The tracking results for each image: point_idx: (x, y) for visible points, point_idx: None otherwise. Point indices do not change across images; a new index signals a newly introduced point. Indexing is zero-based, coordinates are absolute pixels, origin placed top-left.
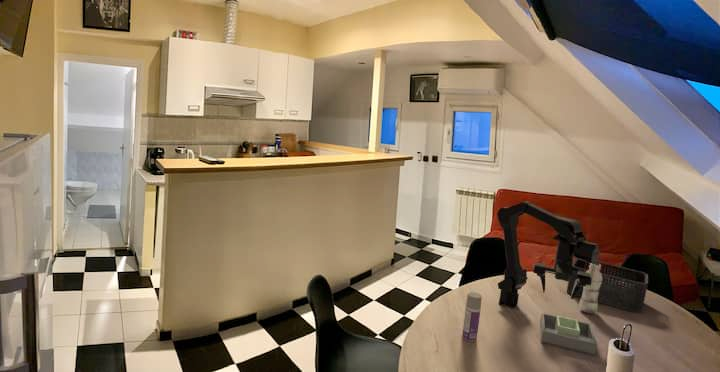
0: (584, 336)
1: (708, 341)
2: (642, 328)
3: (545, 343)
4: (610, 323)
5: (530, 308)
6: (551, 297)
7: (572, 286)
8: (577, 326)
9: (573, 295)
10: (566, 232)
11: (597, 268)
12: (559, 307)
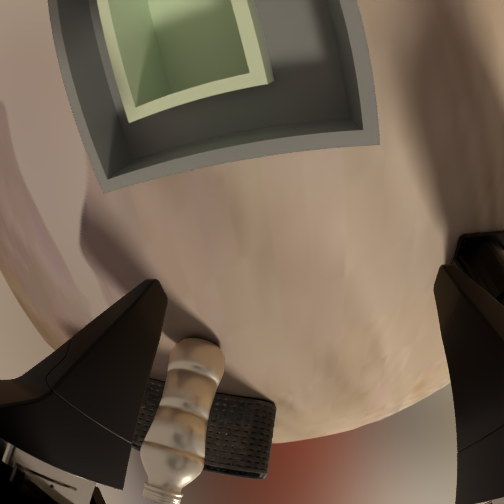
0: None
1: (28, 314)
2: (82, 316)
3: None
4: None
5: (398, 271)
6: (313, 376)
7: (261, 420)
8: (108, 19)
9: (118, 305)
10: None
11: (148, 489)
12: (285, 337)
